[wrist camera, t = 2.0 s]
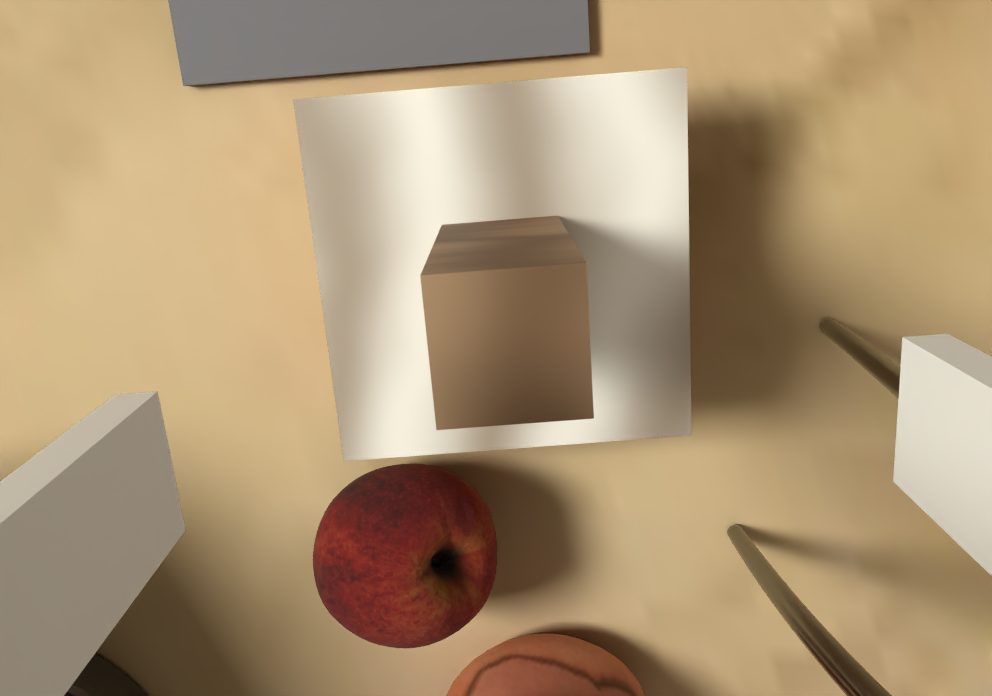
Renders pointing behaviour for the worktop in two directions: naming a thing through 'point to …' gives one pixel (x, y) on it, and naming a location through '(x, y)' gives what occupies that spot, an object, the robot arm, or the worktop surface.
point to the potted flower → (546, 670)
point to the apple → (405, 555)
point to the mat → (365, 35)
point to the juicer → (821, 644)
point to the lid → (503, 261)
